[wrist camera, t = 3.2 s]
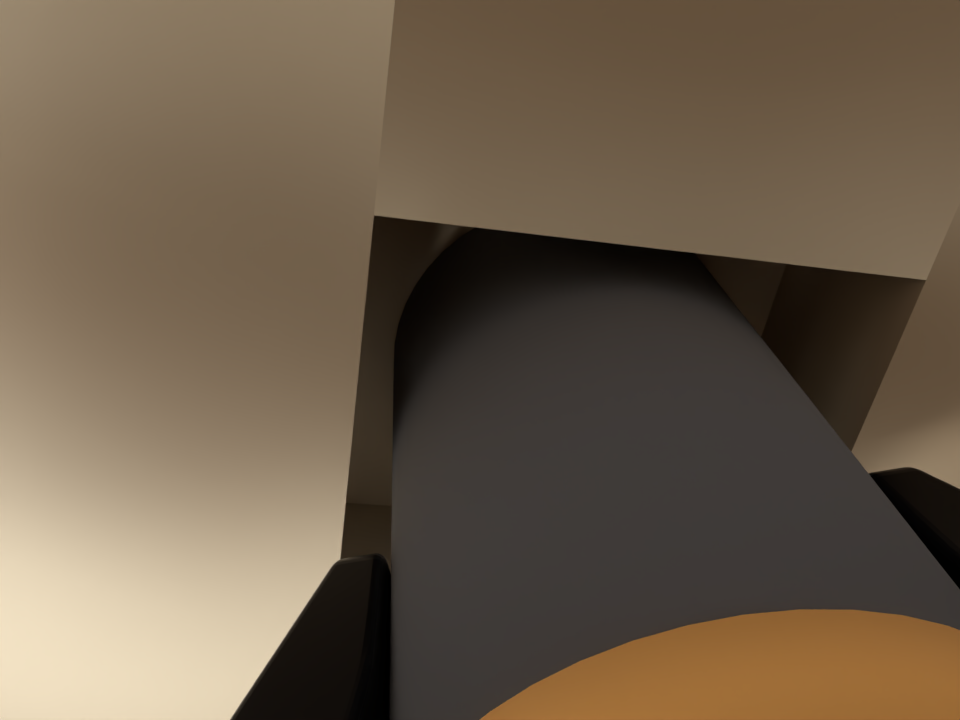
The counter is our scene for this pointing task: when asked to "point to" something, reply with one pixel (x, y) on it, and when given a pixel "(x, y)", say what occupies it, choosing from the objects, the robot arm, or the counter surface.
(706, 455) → the capped plug
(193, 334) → the wooden socket board
